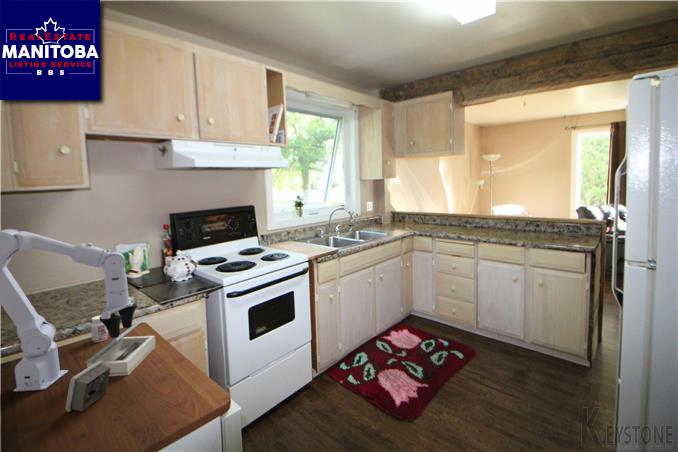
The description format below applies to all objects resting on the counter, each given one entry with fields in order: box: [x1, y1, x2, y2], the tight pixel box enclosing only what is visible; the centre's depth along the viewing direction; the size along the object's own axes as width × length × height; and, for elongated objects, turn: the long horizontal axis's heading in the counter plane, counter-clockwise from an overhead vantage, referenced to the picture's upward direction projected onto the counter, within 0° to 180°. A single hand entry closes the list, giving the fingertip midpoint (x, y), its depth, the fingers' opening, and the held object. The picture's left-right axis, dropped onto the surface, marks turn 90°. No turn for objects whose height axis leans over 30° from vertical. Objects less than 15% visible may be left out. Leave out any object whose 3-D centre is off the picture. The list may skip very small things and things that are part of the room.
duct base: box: [86, 335, 157, 377], centre depth 108 cm, size 18×11×4 cm, turn 5°
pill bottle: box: [90, 315, 109, 343], centre depth 124 cm, size 5×5×8 cm
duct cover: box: [85, 315, 148, 365], centre depth 107 cm, size 18×11×1 cm
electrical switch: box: [65, 360, 111, 413], centre depth 87 cm, size 9×5×9 cm, turn 173°
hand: (121, 332), depth 107 cm, fingers closed on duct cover, 7 cm apart
